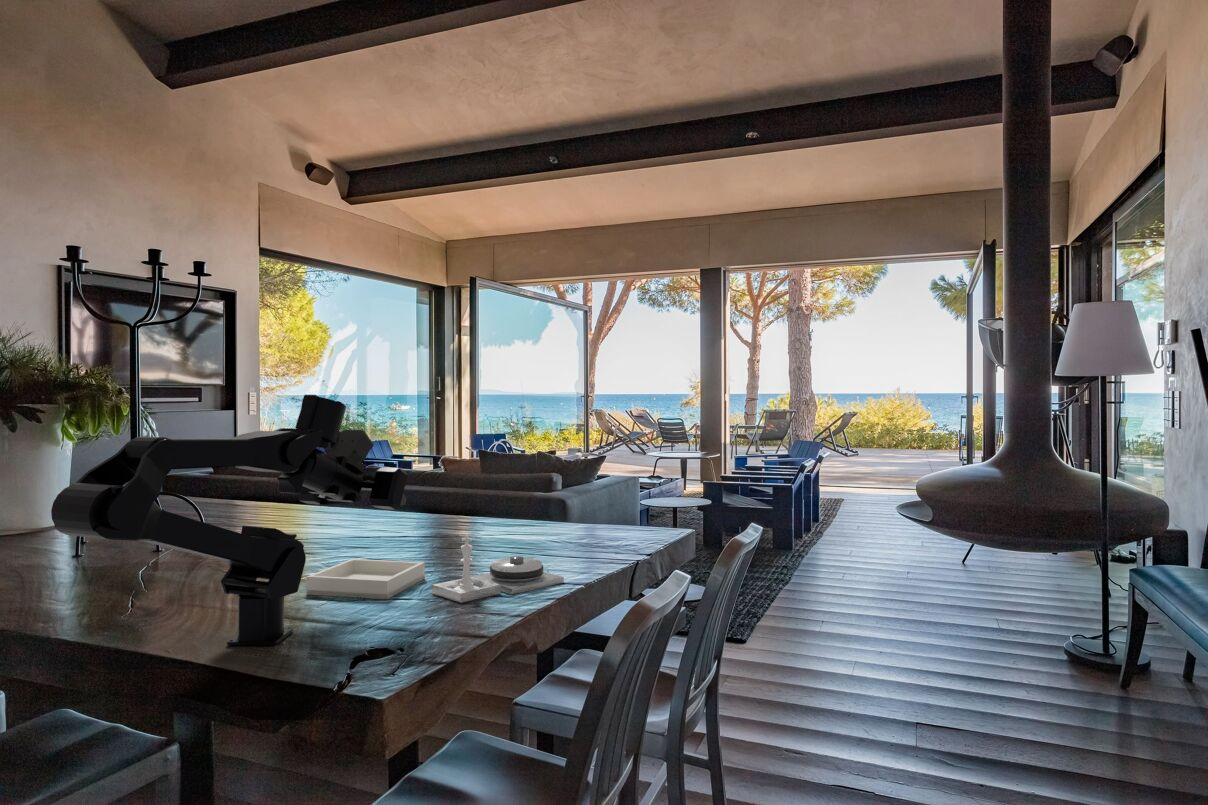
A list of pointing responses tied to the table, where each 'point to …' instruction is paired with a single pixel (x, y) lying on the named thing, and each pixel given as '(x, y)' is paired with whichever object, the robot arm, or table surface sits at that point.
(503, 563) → the bracket
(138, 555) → the table surface
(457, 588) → the chess piece
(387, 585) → the tray
